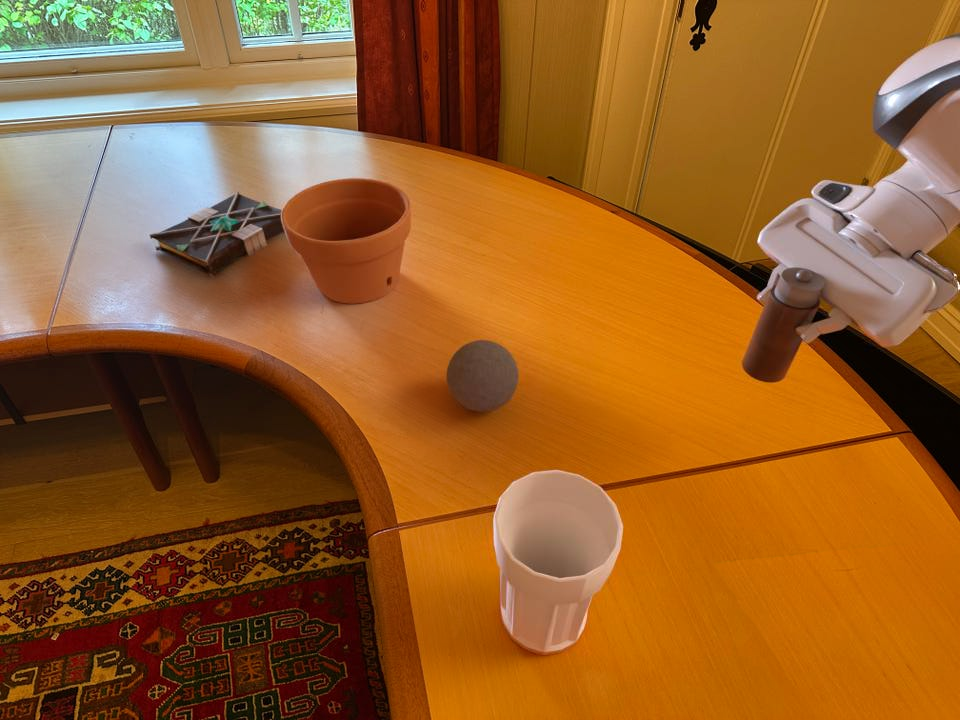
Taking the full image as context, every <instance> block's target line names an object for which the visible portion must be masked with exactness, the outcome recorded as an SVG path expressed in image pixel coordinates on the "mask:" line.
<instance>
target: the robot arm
mask: <svg viewBox="0 0 960 720" xmlns="http://www.w3.org/2000/svg"><path fill="white" fill-rule="evenodd" d="M872 132H873V133H874V135H877V137H879V138H880V139H881V140H883V141H884V142H885V143H886V144H887V145H889V147H891V148H892V149H893V150H894V151H898V152H899V153H900V154H901V155H902V156H903V157H904V158H905V159H906V162H905V163H903V165H901V166H900V167H899V168H898V169H897V170H895V171H894V172H892V173H890V174H888V175H886V176H884V177H883V178H881V179H880V180H879V181H877V182H876V183H875V184H874V185H873V186H869V185H859V184H853V183H846V182H840V181H835V180H830V179H823V180H821V181H819V182H818V183H817V184H816V185H814V186H813V188H812V189H811V195H812V197H813V198H812V197H806V198H801V199H799V200H797V201H795V202H794V203H792V204H791V205H789V206H788V207H787V208H785V209H784V210H782V211H781V212H780V213H779V214H778V215H777V216H775V217H774V218H773V219H772V220H771V221H770V222H769V223H768V224H767V225H765V226H764V227H763V229H761V231H760V232H759V234H758V238H757V241H756V243H757V245H758V246H759V248H760V249H761V251H762V252H763V253H764V254H765V255H766V256H767V257H768V258H769V259H771V260H772V261H774V262H775V263H776V264H777V266H776V267H775V268H774V269H772V271H771V274H770V277H769V279H768V283H767V286H766V287H765V288H764V289H763V290H762V291H761V292H759V293H758V294H757V295H756V300H758V301H759V302H760V303H761V304H762V305H763V306H764V305H765V303H766V300H767V298H768V295H769V293H770V290H771V288H772V287H773V286H775V285H777V283H778V281H779V278H780V276H781V273H782V272H783V271H784V270H785V269H787V268H792V267H799V268H805V269H808V270H811V271H813V272H815V273H817V274H819V275H820V276H821V277H822V278H823V279H824V282H825V285H824V287H823V290H822V292H821V294H820V296H819V299H820V300H821V301H824V302H825V303H826V304H827V305H828V306H830V307H831V308H832V309H831V310H830V311H828V313H827V315H828V318H825V319H821V320H819V321H815V322H809V321H808V320H806V321H805V322H803V323H802V325H801V326H798V327H797V328H796V329H795V333H796V334H797V335H798V336H799V337H800V338H801V339H802V340H803V341H802V342H804V343H806V344H810V343H812V342H813V341H814V340H815V339H817V338H818V337H819V336H820V335H825V334H829V333H833V332H837V331H842V330H844V329H845V328H846V327H847V326H849V325H850V324H852V325H853V326H855V327H856V328H857V329H858V330H860V331H861V332H863V334H865V335H866V336H867V337H869V339H871V340H872V341H873V342H874V343H876V344H877V345H879V346H880V347H881V348H891V347H896V346H898V345H900V344H902V343H903V342H904V341H905V340H907V338H908V337H910V336H911V335H912V334H913V333H914V332H915V331H916V330H917V329H919V328H920V327H921V325H923V324H924V322H925V321H926V320H927V319H928V318H929V317H930V315H932V313H934V312H938V311H940V310H942V309H943V308H945V307H946V306H947V305H948V304H950V303H951V302H952V301H954V300H955V299H956V298H957V296H958V295H959V293H960V282H959V281H958V274H956V273H955V271H953V270H952V269H950V268H948V267H945V266H943V265H941V264H940V263H938V262H937V261H936V260H935V259H933V258H932V257H930V256H929V255H927V254H928V253H929V252H931V250H933V249H934V248H935V247H936V246H937V245H939V244H940V243H941V242H943V241H944V240H945V239H946V238H947V237H948V236H949V235H950V234H951V233H952V231H953V230H954V229H955V228H956V227H957V226H958V225H959V224H960V32H958V33H955V34H951V35H948V36H945V37H943V38H941V39H939V40H937V41H935V42H934V43H932V44H929V45H927V46H926V47H924V48H922V49H920V50H918V51H917V52H916V53H914V54H913V55H911V56H910V57H908V58H907V59H906V60H904V62H903V63H901V64H900V65H899V66H898V67H897V68H895V70H894V71H893V72H892V73H891V74H890V75H889V76H888V77H887V79H886V80H885V81H884V82H883V83H882V84H881V85H880V87H879V88H878V89H877V91H876V93H875V97H874V101H873V107H872Z"/></svg>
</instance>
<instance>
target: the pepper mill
mask: <svg viewBox="0 0 960 720" xmlns="http://www.w3.org/2000/svg"><path fill="white" fill-rule="evenodd" d="M824 285H825V282H824V279H823V278H822V277H821V276H820V275H819V274H817V273H815V272H813V271H811V270H808V269H805V268H799V267H792V268H787V269H785V270H784V271H783V272H782V273H781V276H780V278H779V281H778V283H777V285H775V286H773V287H772V288H771V290H770V293H769V295H768V298H767V300H766V303H765V305H763V308H762V311H761V313H760V315H759V317H758V320H757V322H756V324H755V328H754V330H753V332H752V335H751V337H750V340H749V343H748V345H747V347H746V350H745V353H744V355H743V357H742V360H741V367H742V369H743V371H744V372H745V374H747V375H748V376H749V377H751V378H753V379H754V380H757V381H758V382H762V383H768V384H770V383H771V384H773V383H778V382H781V381H783V380H784V379H785V378H786V376H787V374H788V372H789V370H790V368H791V367H792V364H793V361H795V357H796V355H797V353H798V351H799V349H800V348H801V345H802V343H803V342H804V341H803V340H802V339H801V338H800V337H799V336H798V335H797V334H796V333H795V329H796V328H797V327H798V326H801V325H802V323H803V322H805V321H806V320H808V321H809V322H811V323H813V320H814V317H815V315H816V314H817V312H818V309H819V307H820V306H821V298H820V297H819V296H820V294H821V292H822V290H823V287H824Z"/></svg>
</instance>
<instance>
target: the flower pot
mask: <svg viewBox="0 0 960 720" xmlns="http://www.w3.org/2000/svg"><path fill="white" fill-rule="evenodd" d="M411 209H412V205H411V201H410V198H409V197H408V195H407V194H406V193H405V192H404V190H402V189H401V188H399V187H398V186H396V185H394V184H392V183H390V182H386V181H382V180H378V179H375V178H374V179H373V178H365V177H351V178H339V179H332V180H328V181H324V182H320V183H317V184H314V185H312V186H309V187H306V188H304V189H303V190H301V191H299V192H297V193H296V194H294V195H293V196H292V197H291V198H290V199H288V200H287V201H286V203H285V204H284V205H283V207H282V209H281V210H282V211H281V222H282V225H283V228H284V231H283V232H284V234H285V237H286V239H287V242H288V244H289V246H290V248H291V249H292V250H293V251H294V252H295V253H296V254H298V255H299V256H300V258H301V261H302V262H303V263H304V265H305V267H306V268H307V271H308V272H309V274H310V276H311V279H312V280H313V282H314V283H315V285H316V287H317V288H318V290H319V291H320V292H321V294H322V295H324V296H325V297H326V298H328V299H330V300H332V301H334V302H337V303H342V304H348V305H350V304H353V305H354V304H355V305H357V304H364V303H365V304H366V303H371V302H373V301H376V300H379V299H381V298H382V297H385V296H386V295H388V294H389V293H390V292H391V291H393V290H394V288H395V287H396V285H397V283H398V281H399V277H400V274H401V273H400V272H401V268H402V267H401V266H402V261H403V257H404V250H405V245H406V240H407V238H408V237H409V236H410V232H411V229H412V210H411Z"/></svg>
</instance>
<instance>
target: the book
mask: <svg viewBox="0 0 960 720" xmlns="http://www.w3.org/2000/svg"><path fill="white" fill-rule="evenodd" d="M281 211H282V209H280V208H277V207H274V206H271V205H269V204H268V203H267V202H266V201H265V200H264V199H263V200H261V202H260V201H258V200H255V199H252V198H250V197H248V196H245V195H243V194H241V193H240V191H238V190H237V191H236V192H235V193H234V194H233V195H231V196H229V197H227V198H225V199H224V200H221V201H220V202H218V203H216V204H214V205H212V206H210V207H209V206H205V207H204V208H202V209H200V210H199V211H196V212H194V213H193V214H189V215H188V216H187V219H185V220H184V221H182V222H179V223H178V224H175V225H173V226H171V227H169V228H166V229H164V230H162V231H160V232H155V233H149V238H150V239H154V240H155V241H157V242H158V245H159V246H158V245H156V246H155V250H156V251H160V252H162V253H165V254H167V255H170V256H172V257H174V258H176V259H178V260H180V261H182V262H184V263H186V264H189V265H190V266H193V267H194V268H196V269H198V270H200V271H202V272H203V273H206V274H207V275H209V277H210V279H213V278H214V276H215V273H216V272H218V271H219V270H221V269H222V268H223V267H225V266H227V265H228V264H230V263H231V262H233V261H234V260H236V259H238V258H239V257H241V256H243V255H244V256H246V257H250V256H252V255H254V253H257V252H258V251H260V250H261V249H264V248H265V247H267V245H268V244H267V241H269V240H271V239H272V238H274V237H276V236H278V235H280V234H281V233H284V232H285V231H284V228H283V225H282V222H281Z"/></svg>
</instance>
